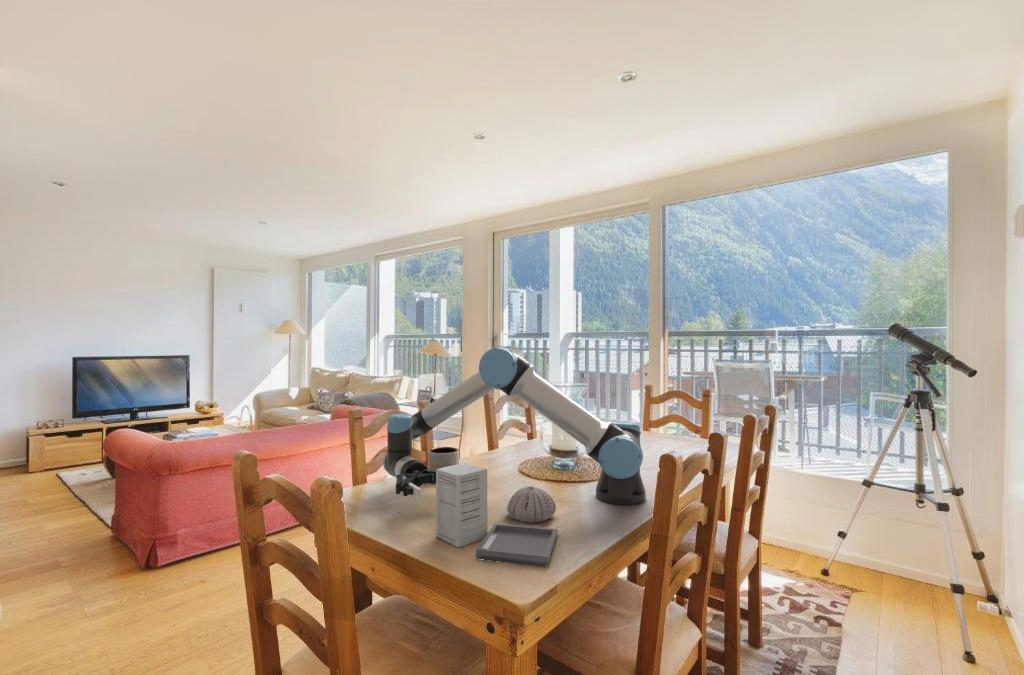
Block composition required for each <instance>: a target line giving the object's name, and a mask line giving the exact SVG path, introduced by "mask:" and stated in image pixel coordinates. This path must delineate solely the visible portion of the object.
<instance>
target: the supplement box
mask: <svg viewBox="0 0 1024 675" xmlns="http://www.w3.org/2000/svg"><path fill="white" fill-rule="evenodd" d="M435 486H436V487H435V494H436V495H435V497H436V500H435V501H436V502H435V503H436V504H435V537H436V536H437V537H436V538H438V537H439V538H438V539H440V538H441V539H440V540H442V539H443V540H442V541H444V540H445V541H444V542H446V541H447V543H448V542H449V544H450V543H451V544H450V545H452V546H454V547H457V548H461V546H462V547H464V546H467V545H469V544H470V545H471V544H473V543H475V542H478V541H482V540H483V539H484V537H485V536H486V535H487V533H488V469H487V468H484V467H480V466H477V465H473V464H469V463H466V462H462V463H459V464H457V465H453V466H448V467H443V468H439V469H436V483H435Z"/></svg>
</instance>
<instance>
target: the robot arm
mask: <svg viewBox="0 0 1024 675" xmlns="http://www.w3.org/2000/svg"><path fill="white" fill-rule="evenodd" d="M493 390H497V391H498V390H499V391H502V392H503V393H504V394H505V395H507V396H508V397H509V398H515V397H516V398H519V399H520V400H522V401H523V402H524V403H527V405H529V406H530V407H531V408H533V409H535V411H537V412H538V413H540V414H541V415H542V416H544V417H545V419H548V420H549V421H550V422H551V423H552V424H554V425H555V426H557V427H558V428H560V429H561V430H562V431H564V432H565V433H567V434H568V435H569V436H571V437H572V438H573V439H574V440H575V441H577V442H578V443H580V444H581V445H583V446H584V448H585V452H586V453H585V454H586V455H587V456H588V457H589V458H591V459H592V460H594V461H595V462H596V463H597V464H599V467H600V468H601V472H600V475H599V478H598V481H597V484H596V487H595V497H596V499H598V500H600V501H602V502H606V503H609V504H614V505H638V504H640V503H644V502H645V501H646V500H647V499H646V498H647V495H646V494H647V493H646V492H647V491H646V488H645V485H644V482H643V479H642V476H641V466H642V464H643V459H644V455H643V449H642V446H641V434H642V431H641V425H639V424H638V423H632V422H612V421H611V420H608V421H607V420H606V421H602V420H600V418H598V417H597V416H595V415H593V414H592V413H591V412H589V411H588V410H587V409H585V408H584V407H583V406H581V405H580V404H578V403H577V402H575V401H574V400H573V399H572V398H570V397H569V396H567V395H566V394H564V393H563V392H561V391H560V390H559V389H558V388H557V387H555V386H554V385H552V384H551V383H550V382H548V381H547V380H546V379H544V378H543V377H541V376H540V375H539V374H537V373H536V372H535V367H534V365H533V364H532V363H531V362H530V361H528V360H527V359H526V357H525V355H524V354H523V353H522V351H521V350H520V349H518V348H516V347H514V346H508V345H507V346H502V345H499V346H498V345H497V346H494V347H491V348H489V349H488V350H486V351H485V352H484V353H483V354H482V356H480V360H479V362H478V371H477V372H476V373H474V374H473V375H472V376H470V377H468V378H467V379H465V380H464V381H462V382H461V383H459V384H458V385H456V386H454V387H453V388H452V389H450V390H449V391H448V392H446V393H444V394H443V395H441V396H440V397H438V398H437V399H435V400H433V402H431V403H429V404H427V405H426V406H425V407H423V408H422V409H421V410H419V411H417V412H416V413H414V414H413V415H411V414H408V413H396V414H395V413H394V414H391V415H389V416H388V418H387V426H386V430H387V451H386V454H385V455H384V457H383V460H382V466H383V468H384V470H385V471H386V472H387V473H388V475H389V476H391V477H394V478H396V483H395V494H396V495H399V494H401V493H402V496H403V497H408V496H412V497H413V498H414V499H415V500H417V501H421V500H422V488H420V487H421V486H423V485H427V484H432V485H436V471H432V470H429V469H428V465H426V463H424V462H422V461H420V460H419V459H416V458H414V457H412V456H413V453H412V452H413V441H414V440H416V439H419V438H421V437H423V436H425V435H427V434H428V433H429V432H430V431H432V430H434V428H436V427H438V426H439V425H441V424H442V423H444V422H445V421H447V420H448V419H450V418H451V417H453V416H455V415H456V414H458V413H459V412H461V411H463V410H464V409H465V408H467V407H469V406H470V405H472V404H473V403H475V402H476V401H478V400H479V399H481V398H483V397H484V396H485V395H487V394H488V393H490V392H492V391H493ZM438 469H439V468H438ZM433 477H434V480H432V479H433Z"/></svg>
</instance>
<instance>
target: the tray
mask: <svg viewBox="0 0 1024 675" xmlns="http://www.w3.org/2000/svg"><path fill="white" fill-rule="evenodd" d="M558 533H559V532H558V528H553V527H552V528H551V527H550V528H549V527H543V526H541V527H540V526H527V525H517V524H510V523H509V524H508V523H497V522H494V523H493V525H492V526H491V528H490V529H489V531H487V535H486V536H485V537H484V539H481V541H480V543H479V545H478V546H477V548H476V550H475V553H476V554H475V559H476V558H477V559H484V560H483V561H486V560H491V561H490V562H496V561H500V562H499V563H505V562H508V563H507V564H514V563H515V564H517V565H525V566H533V565H536V567H542V566H548V565H550V563H549V562H551V559H552V556H553V553H554V550H555V546H556V544H557V541H558V539H559V538H558ZM477 559H476V560H477ZM548 567H549V566H548Z"/></svg>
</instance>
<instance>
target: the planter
mask: <svg viewBox="0 0 1024 675" xmlns="http://www.w3.org/2000/svg"><path fill="white" fill-rule="evenodd" d="M459 452H460V451H459V448H457V447H452V446H437V447H432V448H429V449H428V450H427V454H428V455H427V468H428V469H429V470H432V471H436V469H438V468H443V467H448V466H453V465H457V464H460V458H459V457H460V453H459ZM432 481H434V477H433V479H432Z"/></svg>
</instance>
